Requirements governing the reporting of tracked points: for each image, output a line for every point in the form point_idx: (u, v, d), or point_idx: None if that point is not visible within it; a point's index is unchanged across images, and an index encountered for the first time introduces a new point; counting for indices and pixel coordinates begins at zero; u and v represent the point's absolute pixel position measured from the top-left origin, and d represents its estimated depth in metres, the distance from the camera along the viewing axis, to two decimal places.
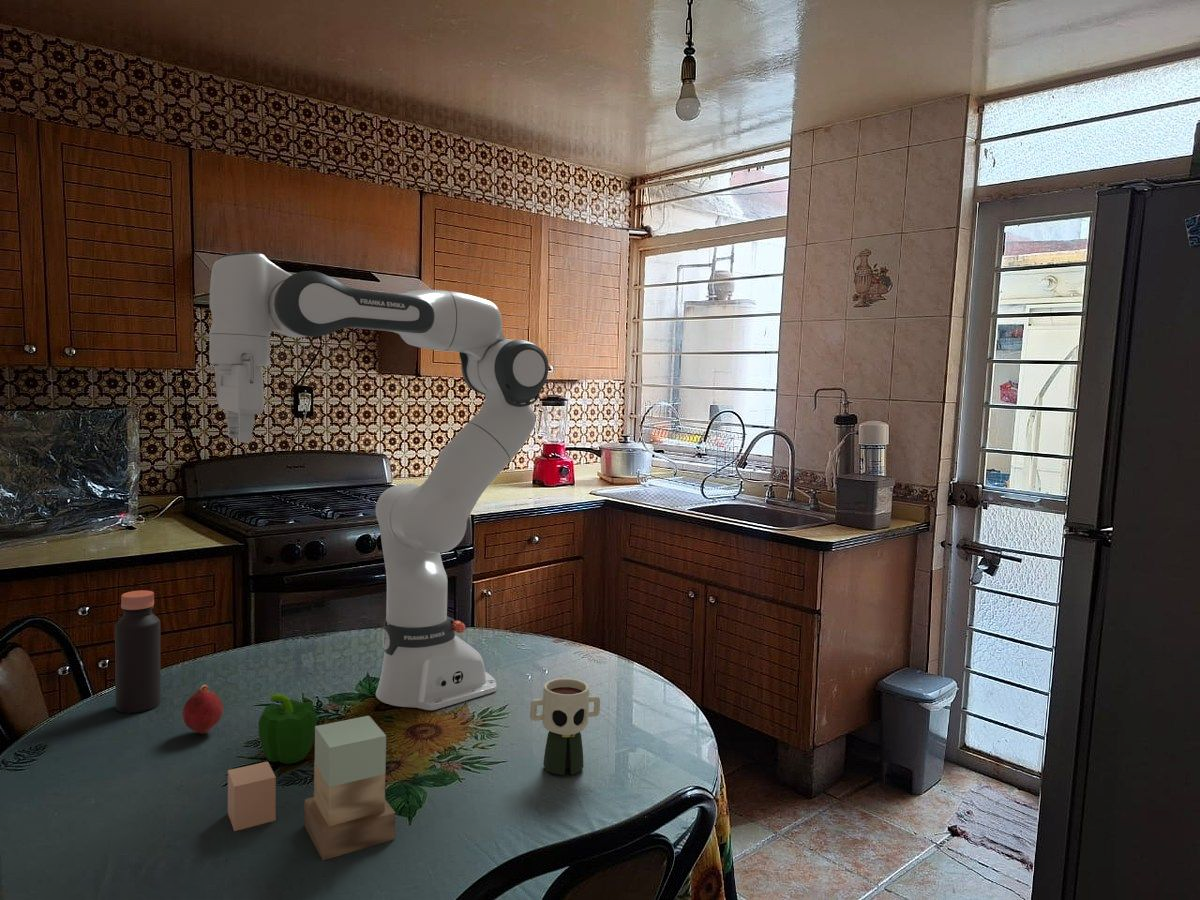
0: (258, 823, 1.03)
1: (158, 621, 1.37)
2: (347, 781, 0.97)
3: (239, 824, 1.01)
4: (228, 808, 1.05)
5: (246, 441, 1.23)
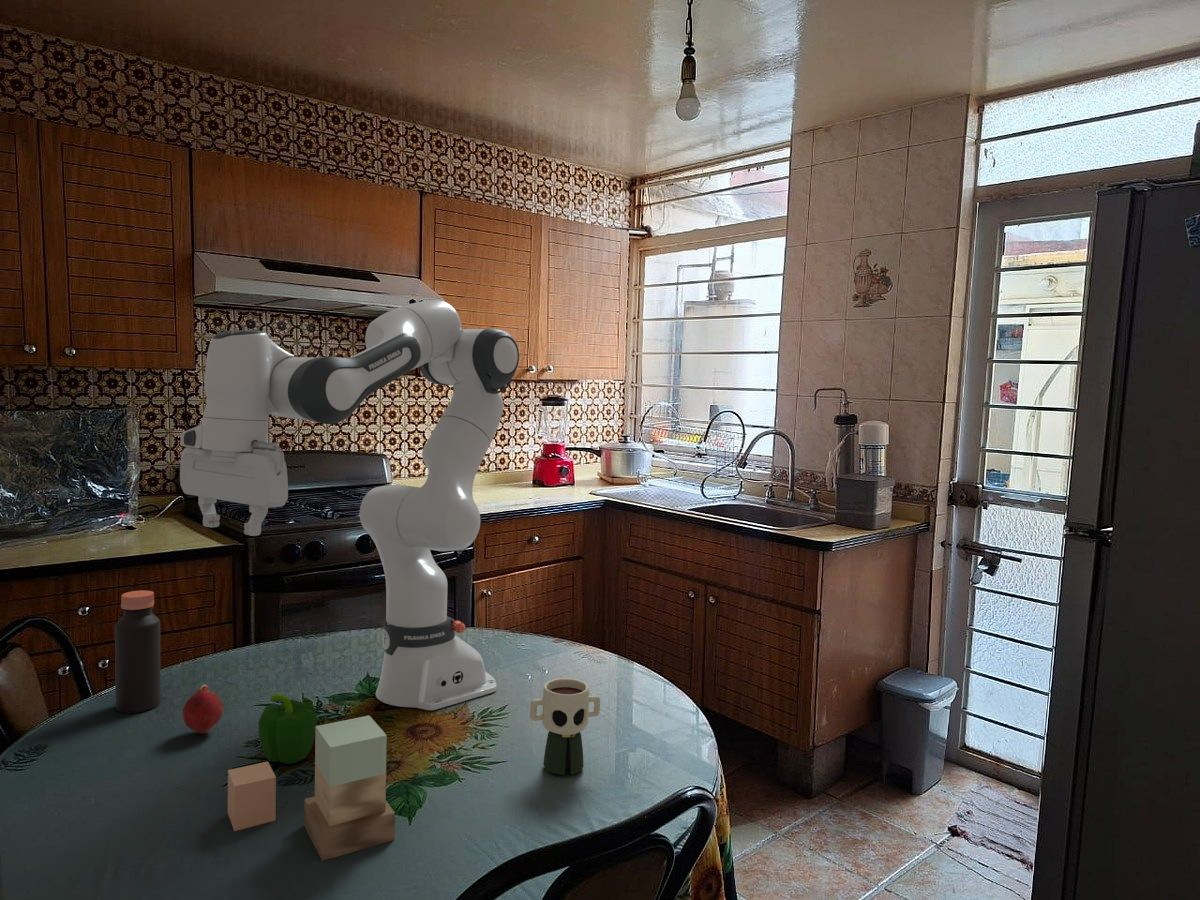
0: (258, 823, 1.03)
1: (158, 621, 1.37)
2: (348, 781, 0.97)
3: (239, 823, 1.01)
4: (228, 808, 1.05)
5: (256, 534, 1.15)
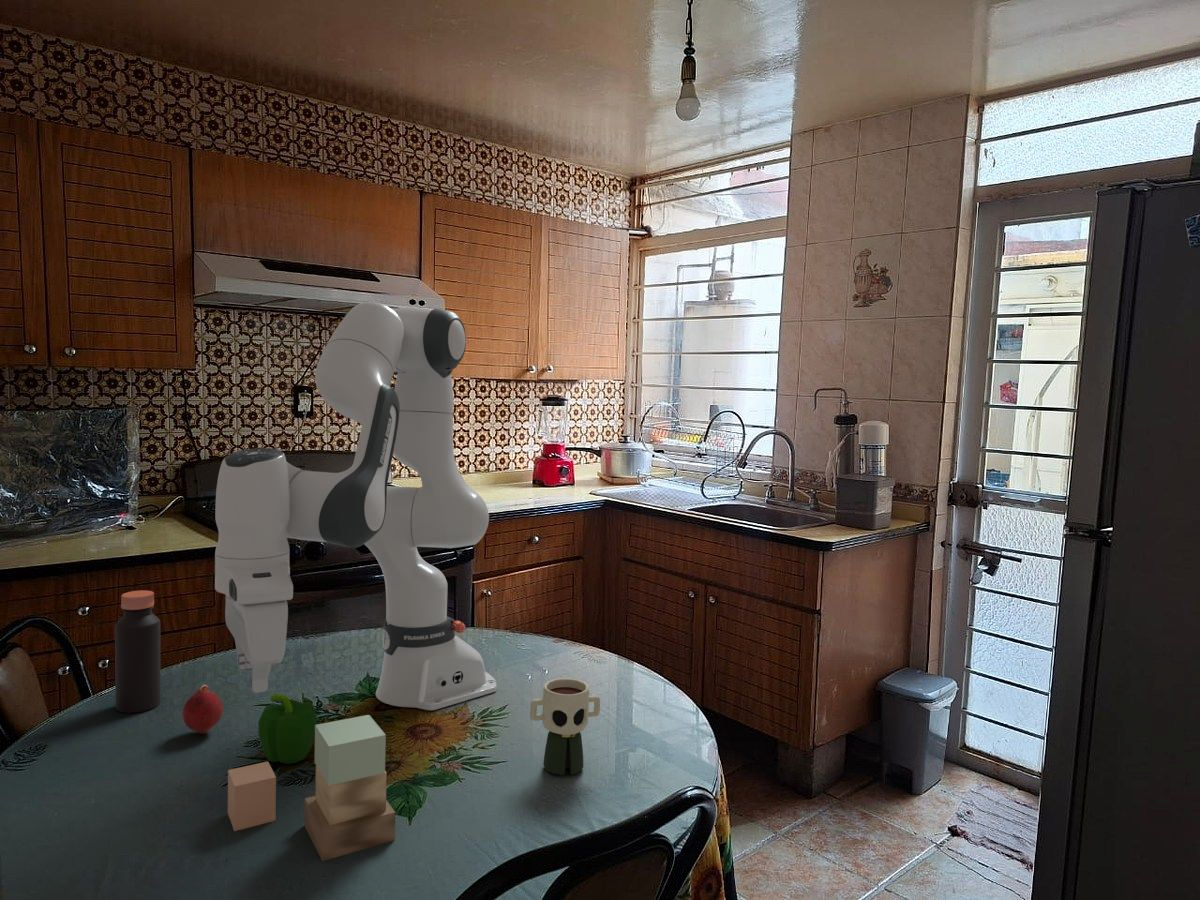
0: (258, 823, 1.03)
1: (158, 621, 1.37)
2: (346, 780, 0.97)
3: (239, 823, 1.01)
4: (228, 808, 1.05)
5: None
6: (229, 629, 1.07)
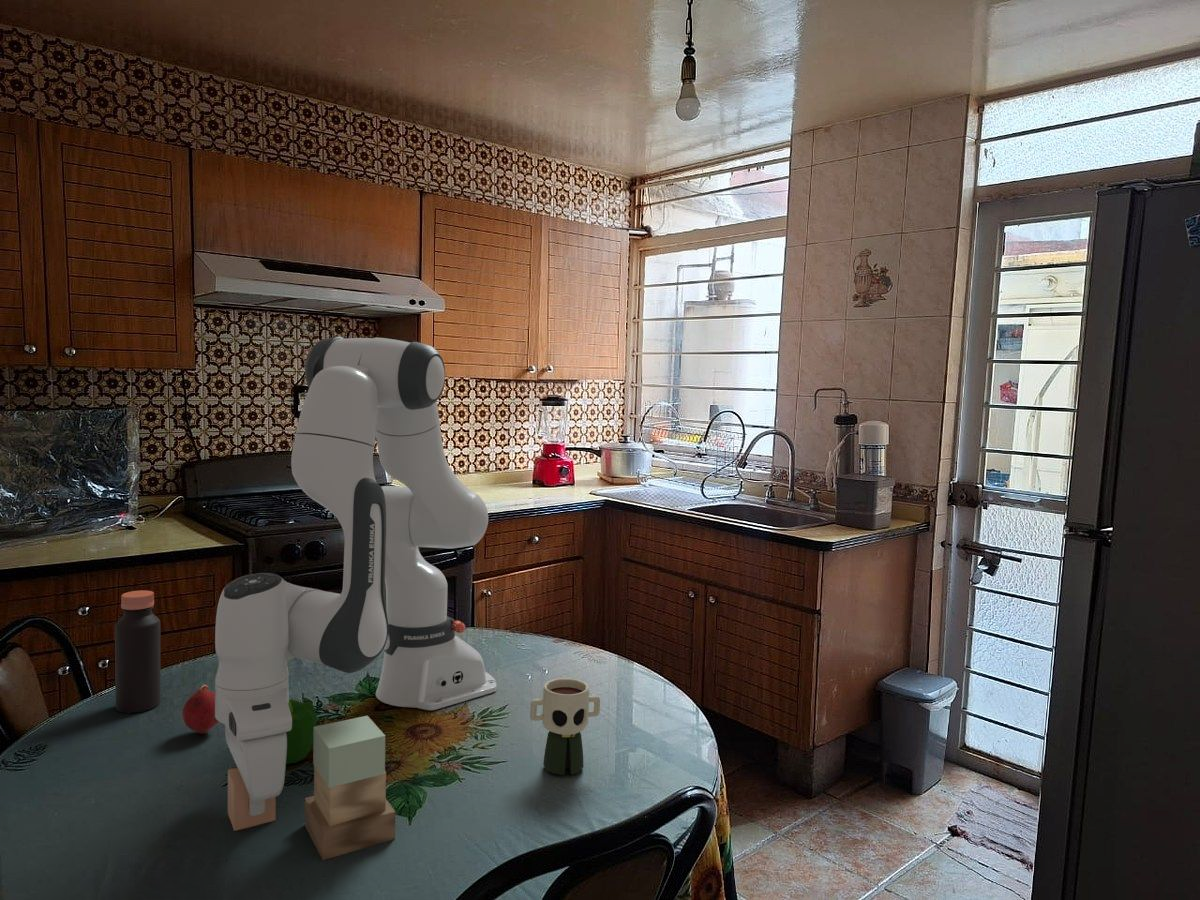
0: (258, 822, 1.03)
1: (158, 621, 1.37)
2: (346, 781, 0.97)
3: (239, 823, 1.01)
4: (228, 807, 1.05)
5: None
6: (229, 748, 1.08)
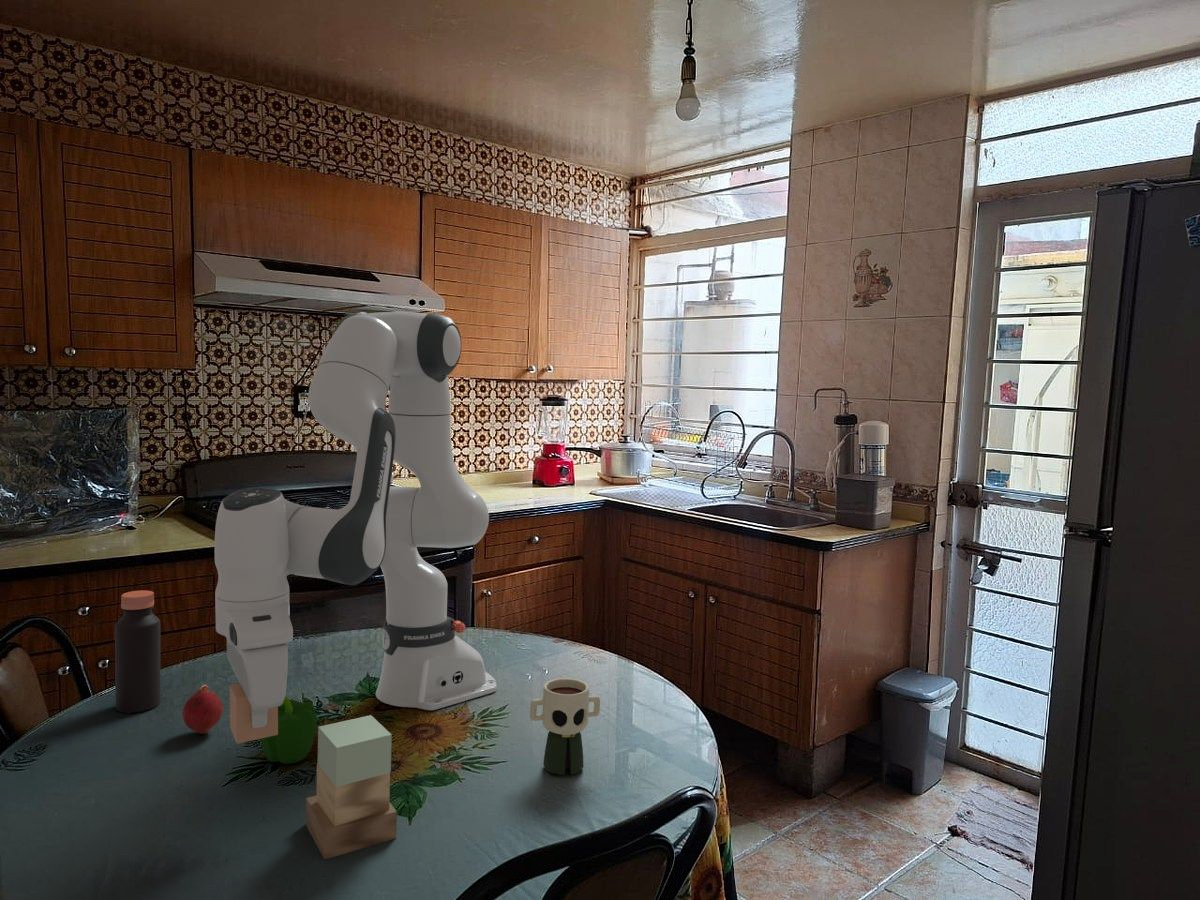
0: (260, 736, 1.02)
1: (158, 621, 1.37)
2: (353, 781, 0.98)
3: (242, 736, 1.01)
4: (230, 722, 1.04)
5: None
6: (231, 665, 1.08)
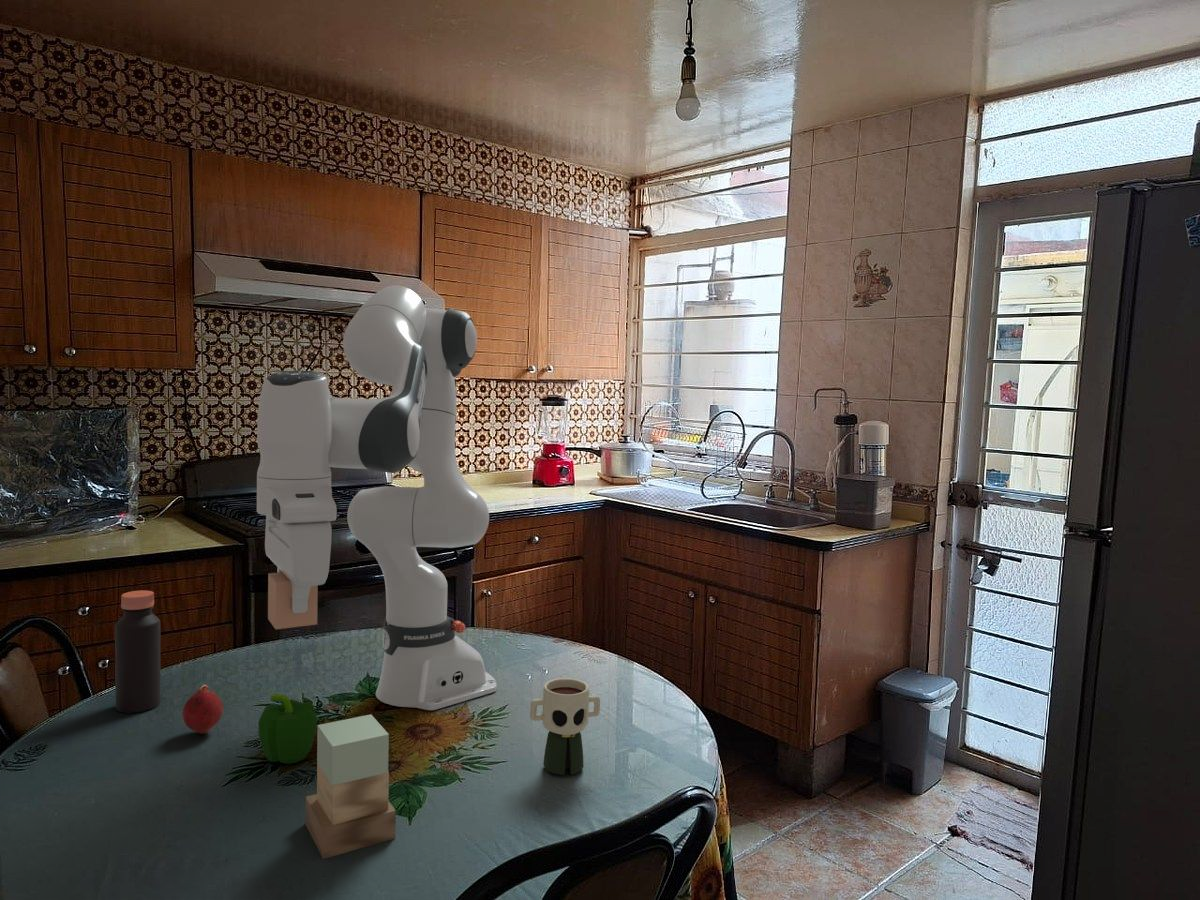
0: (300, 624, 0.99)
1: (158, 621, 1.37)
2: (350, 780, 0.98)
3: (281, 622, 0.98)
4: (268, 612, 1.01)
5: None
6: (269, 557, 1.05)
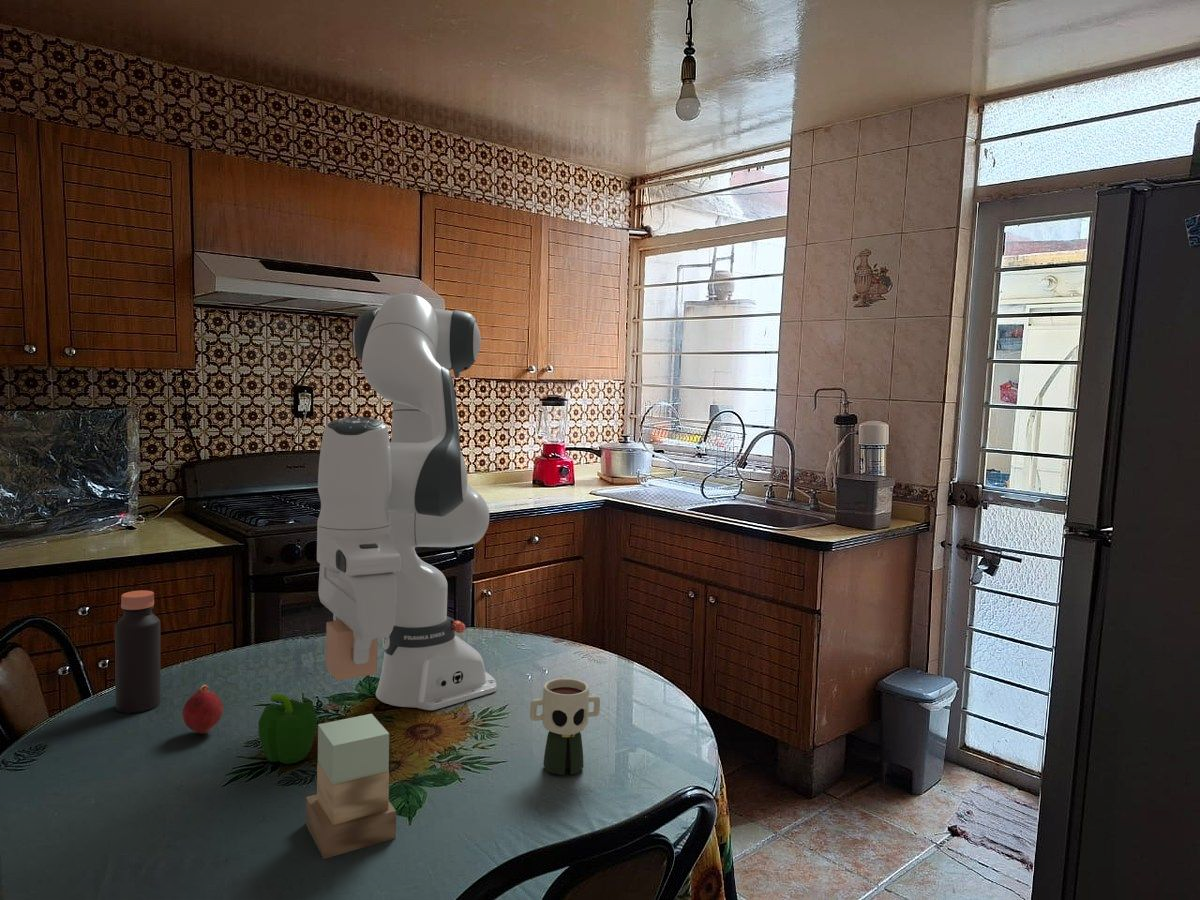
0: (360, 674, 0.98)
1: (158, 621, 1.37)
2: (350, 779, 0.98)
3: (342, 673, 0.97)
4: (327, 662, 1.00)
5: None
6: (325, 605, 1.04)
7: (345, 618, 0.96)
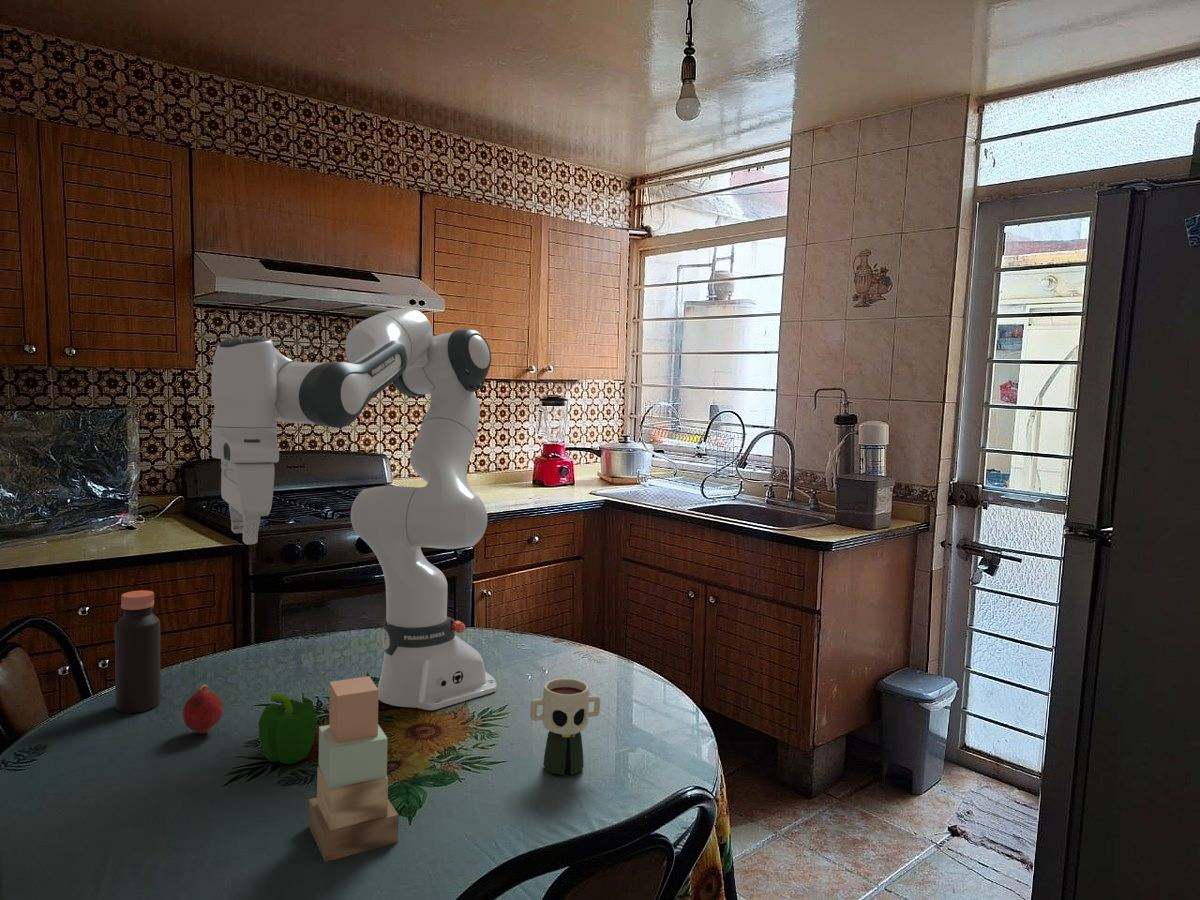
0: (360, 736, 0.98)
1: (158, 621, 1.37)
2: (347, 783, 0.97)
3: (342, 735, 0.97)
4: (330, 721, 1.01)
5: None
6: (224, 499, 1.22)
7: (234, 503, 1.14)
